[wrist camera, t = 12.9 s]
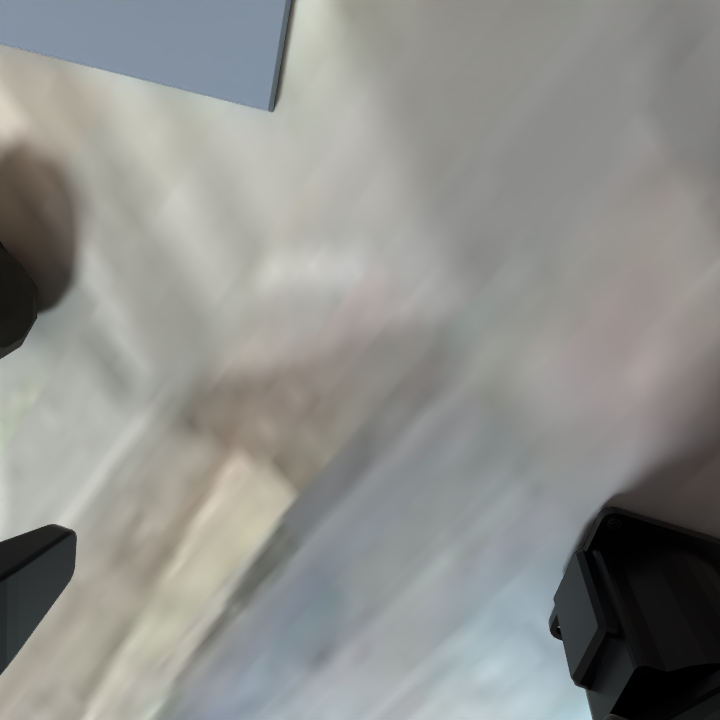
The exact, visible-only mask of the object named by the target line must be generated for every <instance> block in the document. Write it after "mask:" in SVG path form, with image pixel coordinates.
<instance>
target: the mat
mask: <svg viewBox="0 0 720 720" xmlns="http://www.w3.org/2000/svg"><path fill="white" fill-rule="evenodd" d="M290 6H291V0H0V44H2V45H6V46H10V47H14V48H18V49H22V50H26V51H30V52H34V53H38V54H42V55H46V56H50V57H54V58H58V59H62V60H66V61H70V62H74V63H78V64H82V65H86V66H90V67H94V68H98V69H102V70H106V71H110V72H114V73H118V74H122V75H126V76H130V77H134V78H138V79H142V80H146V81H150V82H154V83H158V84H162V85H166V86H170V87H174V88H178V89H182V90H186V91H190V92H193V93H197V94H201V95H205V96H209V97H213V98H217V99H221V100H225V101H229V102H233V103H237V104H241V105H245V106H249V107H253V108H257V109H261V110H265V111H269V112H273V108H274V102H275V96H276V90H277V84H278V78H279V72H280V66H281V60H282V54H283V48H284V42H285V36H286V30H287V24H288V18H289V12H290Z"/></svg>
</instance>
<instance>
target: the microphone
mask: <svg viewBox="0 0 720 720" xmlns="http://www.w3.org/2000/svg"><path fill="white" fill-rule="evenodd" d="M36 319H37V287H36V286H35V284H34V283H33V281H32V280H31V279H30V277H29V276H28V274H27V273H26V272H25V270H24V269H23V268H22V266H21V265H20V264H19V263H18V262H17V261H16V260H15V259H14V258H13V257H12V256H11V255H10V254H9V253H8V251H7V250H6V249H5V247H4V246H3V244H2V243H1V242H0V359H1V358H3V357H4V356H6V355H8V354H9V353H11V352H12V351H14V350H16V349H17V348H19V347H20V346H21V345H22V344H23V342H24V340H25V338H26V337H27V335H28V333H29V331H30V329H31V328H32V326H33V324H34V322H35V321H36Z"/></svg>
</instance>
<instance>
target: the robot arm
mask: <svg viewBox="0 0 720 720" xmlns="http://www.w3.org/2000/svg"><path fill="white" fill-rule="evenodd" d="M613 518H614V519H618V521H617V522H616V523H614V524H609V523H608V521H609V520H610V519H613ZM76 543H77V535H76V533H75V531H73V530H71V529H68V528H65V527H62V526H59V525H56V524H50V525H47V526H44V527H41V528H38V529H35V530H32V531H30V532H27V533H24V534H21V535H18V536H16V537H13V538H10V539H7V540H4V541H2V542H0V675H1V674H2V673H3V671H4V670H5V669H6V668H7V667H8V665H9V664H10V663H11V661H12V660H13V659H14V657H15V656H16V655H17V653H18V652H19V651H20V649H21V648H22V647H23V645H24V644H25V642H26V641H27V640H28V638H29V637H30V636H31V634H32V633H33V631H34V630H35V629H36V627H37V626H38V625H39V623H40V622H41V620H42V619H43V618H44V616H45V615H46V614H47V612H48V611H49V609H50V608H51V607H52V605H53V604H54V603H55V601H56V600H57V598H58V597H59V596H60V594H61V593H62V591H63V590H64V589H65V587H66V586H67V585H68V583H69V582H70V580H71V578H72V576H73V573H74V569H75V558H76ZM554 603H555V608H554V610H553V612H552V615H551V617H550V619H549V628H550V632H551V634H552V635H553V636H554V637H555V638H557V639H559V640H562V641H563V644H564V649H565V653H566V658H567V662H568V667H569V671H570V676H571V678H572V680H573V682H574V684H575V685H576V686H578V687H581V688H584V689H585V690H586V695H587V699H588V703H589V707H590V711H591V715H592V719H593V720H720V539H718V538H715V537H711V536H708V535H705V534H701V533H698V532H695V531H692V530H688V529H685V528H682V527H678V526H675V525H672V524H669V523H665V522H662V521H659V520H656V519H652V518H649V517H646V516H642V515H639V514H636V513H633V512H629V511H626V510H623V509H619V508H615V507H609V508H605V509H604V510H602V511H601V512H600V513H599V515H598V517H597V519H596V521H595V524H594V526H593V528H592V530H591V532H590V534H589V536H588V538H587V541H586V543H585V545H584V547H583V549H580V550H579V551H577V552H575V553H574V555H573V558H572V560H571V562H570V564H569V566H568V568H567V570H566V572H565V575H564V577H563V579H562V581H561V583H560V585H559V587H558V590H557V592H556V594H555V596H554ZM558 626H560V628H558Z"/></svg>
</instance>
